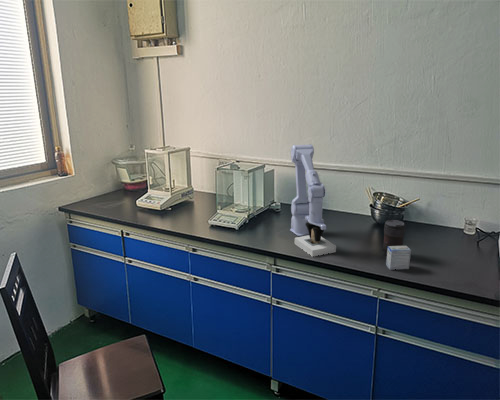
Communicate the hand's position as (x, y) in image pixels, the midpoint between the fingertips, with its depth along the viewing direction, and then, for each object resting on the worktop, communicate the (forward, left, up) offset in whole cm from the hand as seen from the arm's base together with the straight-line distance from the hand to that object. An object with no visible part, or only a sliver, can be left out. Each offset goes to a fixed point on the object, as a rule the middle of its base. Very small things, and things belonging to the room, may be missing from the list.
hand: (314, 239), depth 182 cm
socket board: (0, 0, -4) cm, 4 cm away
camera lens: (+21, +26, -4) cm, 34 cm away
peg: (0, 0, -2) cm, 2 cm away
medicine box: (+31, +20, -4) cm, 37 cm away
